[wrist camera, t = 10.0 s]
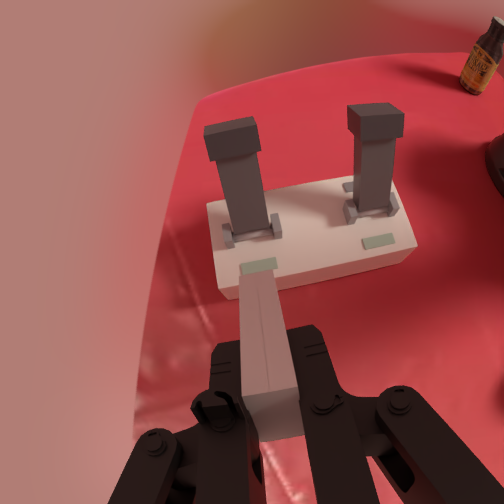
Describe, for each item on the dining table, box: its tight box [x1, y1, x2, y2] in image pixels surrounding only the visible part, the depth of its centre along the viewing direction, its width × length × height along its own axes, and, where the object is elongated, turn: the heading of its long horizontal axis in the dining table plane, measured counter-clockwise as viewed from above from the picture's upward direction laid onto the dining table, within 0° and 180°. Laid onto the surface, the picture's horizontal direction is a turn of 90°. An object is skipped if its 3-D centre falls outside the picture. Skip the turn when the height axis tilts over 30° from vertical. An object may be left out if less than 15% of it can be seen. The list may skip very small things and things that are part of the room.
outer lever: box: [204, 116, 270, 234], centre depth 28 cm, size 3×4×11 cm
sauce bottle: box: [459, 16, 504, 95], centre depth 37 cm, size 7×6×20 cm
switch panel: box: [206, 175, 418, 300], centre depth 34 cm, size 10×22×8 cm, turn 100°
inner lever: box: [347, 103, 404, 211], centre depth 27 cm, size 3×4×11 cm
